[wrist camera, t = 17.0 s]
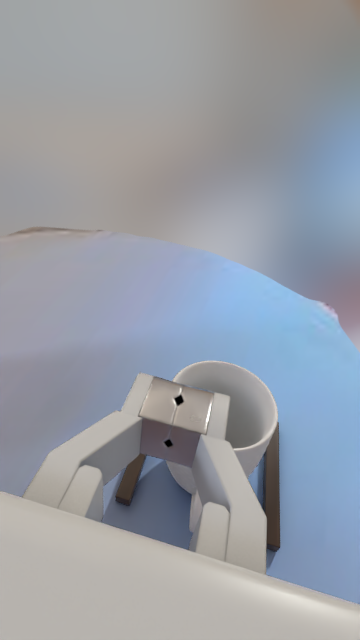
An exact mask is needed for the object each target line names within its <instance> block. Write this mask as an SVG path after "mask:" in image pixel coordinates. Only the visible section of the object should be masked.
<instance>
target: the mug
mask: <svg viewBox="0 0 360 640" xmlns="http://www.w3.org/2000/svg"><path fill="white" fill-rule="evenodd" d="M172 381H173V382H176V383H179V384H183V385H184V384H185V385H189V386H193V387H197V388H201V389H205V390H209V391H213V392H216V393H220V394H224V395H228V396H230V405H229V412H228V420H227V427H226V435H225V441H228V442H230V444H231V446H232V448H233V450H234V452H235V454H236V456H237V458H238V460H239V462H240V464H241V466H242V468H243V470H244V473H245V475H246V477H247V478H248V477H249V475H250V474H251V473H252V472H253V471H254V469H255V468H256V467H257V466H258V463H259V461H260V460H261V458H262V456H263V454H264V453H265V451H266V448H267V446H268V445H269V442H270V439H271V437H272V435H273V433H274V431H275V428H276V426H277V421H278V411H277V405H276V402H275V400H274V397H273V395H272V394H271V392H270V390H269V389H268V387H267V386H266V385H265V384H264V383H263V382H262V381H261V380H260V379H259V378H258V377H257V376H256V375H254V374H253V373H251V372H250V371H248V370H246V369H244V368H242V367H240V366H237V365H235V364H231V363H227V362H222V361H203V362H198V363H194V364H192V365H189V366H187V367H185V368H184V369H182V370H181V371H180V372H179V373H178V374H177V375H176V376H175V377H174V379H173V380H172ZM166 463H167V465H168V469H169V470H170V472H171V474H172V476H173V477H174V479H175V481H176V482H177V483H178V484H179V485H180V486H181V487H182V488H183V489H184V490H186V491H187V492H189V493H190V494H192V500H191V509H190V522H189V529H190V531H191V532H192V533H193V532H194V530H195V527H196V525H197V522H198V519H199V517H200V514H201V511H202V509H203V507H202V504H201V500H200V497H199V494H198V490H197V487H196V484H195V481H194V477H193V474H192V471H191V468H189V467H186V466H183V465H180V464H177V463H173V462H170V461H167V460H166Z"/></svg>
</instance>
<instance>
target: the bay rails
mask: <svg viewBox="0 0 360 640" xmlns="http://www.w3.org/2000/svg"><path fill="white" fill-rule="evenodd" d="M146 456H147V455H144V454H141V453H139V455H138V456H137V457H136V458H135V459H134V460H133V461H132V462H131V463H129V464H128V466H127V468H126V471H125V473H124V476H123V479H122V481H121V484H120V486H119V489H118V491H117V494H116V502H119V503H123V504H126V505H130V502H131V499H132V497H133V494H134V491H135V488H136V485H137V482H138V479H139V476H140V473H141V471H142V468H143V465H144V462H145V459H146ZM263 511H264V513H265V515H266V517H267V536H266V549H269V550H273V551H276V552H277V550H278V549H279V548H280V502H279V423H278V422H277V426H276V428H275V431H274V433H273V435H272V437H271V439H270V442H269V445H268V446H267V448H266V451H265V453H264V476H263Z"/></svg>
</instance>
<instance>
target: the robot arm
mask: <svg viewBox="0 0 360 640" xmlns="http://www.w3.org/2000/svg"><path fill="white" fill-rule="evenodd" d="M229 405H230V396H228V395H224V394H220V393H216V392H213V391H209V390H205V389H201V388H197V387H193V386H189V385H185V384H184V385H183V384H179V383H176V382H173V381H169V380H166V379H162V378H159V377H155V376H151V375H148V374H144V373H139V374H138V375H137V377H136V379H135V381H134V383H133V386H132V388H131V390H130V392H129V394H128V396H127V398H126V400H125V403H124V405H123V407H122V409H121V411H114V412H113V413H111V414H109V415H108V416H106V417H105V418H103V419H102V420H100V421H98V422H97V423H95V424H94V425H92V426H90V427H89V428H87V429H86V430H84V431H82V432H81V433H79V434H78V435H76V436H74V437H73V438H71V439H70V440H68V441H67V442H65V443H63V444H62V445H60V446H59V447H57V448H55V449H54V450H52V451H51V452H49V454H48V455H47V457H46V459H45V460H44V462H43V463H42V465H41V467H40V468H39V470H38V472H37V473H36V475H35V476H34V478H33V480H32V481H31V483H30V485H29V486H28V488H27V490H26V491H25V493H24V494H23V496H22V498H21V497H18V496H15V495H12V494H9V493H6V492H2V491H0V640H360V604H356V603H353V602H350V601H347V600H344V599H341V598H338V597H334V596H331V595H328V594H325V593H322V592H319V591H315V590H312V589H309V588H306V587H303V586H300V585H296V584H293V583H290V582H287V581H284V580H281V579H278V578H274V577H271V576H268V575H266V536H267V517H266V515H265V513H264V511H263V509H262V507H261V505H260V503H259V501H258V499H257V497H256V495H255V493H254V491H253V489H252V487H251V485H250V483H249V481H248V479H247V477H246V475H245V473H244V470H243V468H242V466H241V464H240V462H239V460H238V458H237V456H236V454H235V452H234V450H233V448H232V446H231V444H230V442H228V441H225V435H226V427H227V420H228V412H229ZM139 453H141V454H144V455H148V456H152V457H156V458H160V459H164V460H167V461H170V462H173V463H177V464H180V465H183V466H186V467H189V468H191V471H192V474H193V477H194V481H195V484H196V487H197V490H198V494H199V497H200V500H201V504H202V507H203V509H202V511H201V514H200V517H199V519H198V522H197V525H196V527H195V530H194V532H193V535H192V538H191V540H190V544H189V549H188V550H186V549H183V548H180V547H176V546H173V545H170V544H167V543H164V542H161V541H157V540H154V539H151V538H148V537H145V536H142V535H139V534H135V533H132V532H129V531H126V530H123V529H120V528H116V527H113V526H110V525H107V524H104V523H101V521H102V518H103V516H104V510H103V487H104V486H105V485H106V484H107V483H108V482H109V481H110V480H111V479H113V478H114V477H115V476H116V475H117V474H118V473H119V472H120V471H122V470H123V469H124V468H125V467H126V466H127V465H128V464H129V463H131V462H132V461H133V460H134V459H135V458H136V457H137V456H138V455H139Z"/></svg>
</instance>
